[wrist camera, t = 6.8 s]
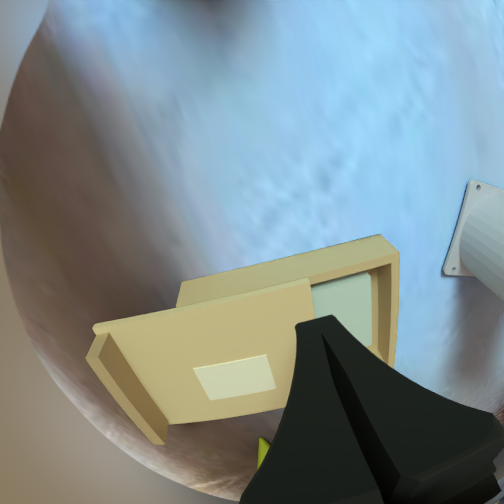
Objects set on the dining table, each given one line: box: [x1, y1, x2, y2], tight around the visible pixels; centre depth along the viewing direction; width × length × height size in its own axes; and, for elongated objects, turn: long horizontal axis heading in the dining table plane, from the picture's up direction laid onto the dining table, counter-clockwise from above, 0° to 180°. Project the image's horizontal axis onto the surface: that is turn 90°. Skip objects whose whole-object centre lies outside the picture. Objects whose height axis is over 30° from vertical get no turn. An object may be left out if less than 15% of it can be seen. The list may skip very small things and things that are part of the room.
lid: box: [85, 278, 316, 445], centre depth 19 cm, size 14×11×3 cm
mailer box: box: [176, 234, 400, 369], centre depth 22 cm, size 14×11×3 cm
